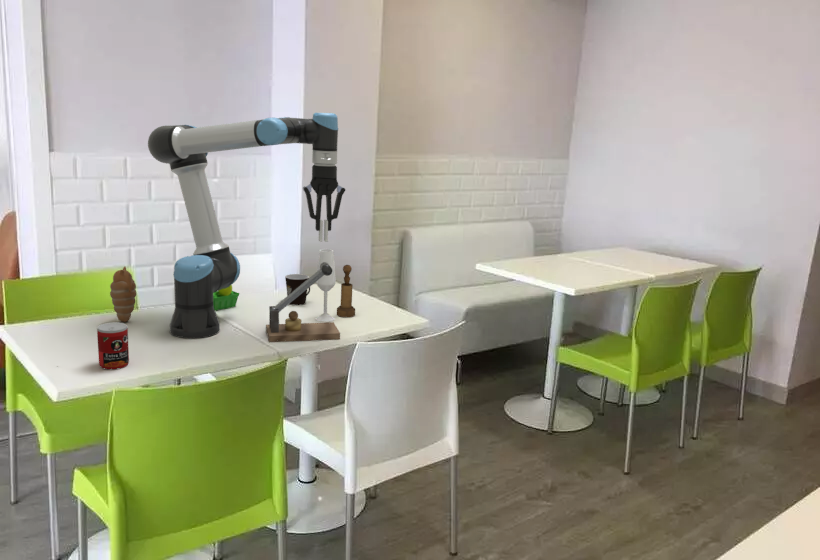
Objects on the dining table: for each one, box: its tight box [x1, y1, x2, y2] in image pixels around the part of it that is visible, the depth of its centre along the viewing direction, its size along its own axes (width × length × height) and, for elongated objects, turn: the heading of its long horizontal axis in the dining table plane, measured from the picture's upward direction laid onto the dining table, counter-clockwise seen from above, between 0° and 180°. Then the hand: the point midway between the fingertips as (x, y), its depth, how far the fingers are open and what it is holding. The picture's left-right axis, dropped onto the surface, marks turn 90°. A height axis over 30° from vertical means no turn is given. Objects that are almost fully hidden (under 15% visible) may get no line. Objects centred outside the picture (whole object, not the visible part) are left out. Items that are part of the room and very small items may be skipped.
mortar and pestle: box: [336, 264, 356, 318], centre depth 255 cm, size 7×6×18 cm
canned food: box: [96, 321, 130, 370], centre depth 198 cm, size 8×8×11 cm
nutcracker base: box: [265, 305, 341, 343], centre depth 231 cm, size 22×12×9 cm, turn 106°
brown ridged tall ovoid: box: [109, 266, 137, 323], centre depth 235 cm, size 9×8×18 cm
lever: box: [270, 262, 332, 313], centre depth 229 cm, size 24×6×3 cm
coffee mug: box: [284, 273, 311, 306], centre depth 267 cm, size 12×9×10 cm
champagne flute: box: [315, 248, 337, 323], centre depth 248 cm, size 7×7×24 cm
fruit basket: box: [213, 284, 240, 311], centre depth 257 cm, size 11×9×11 cm
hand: (323, 240), depth 227 cm, fingers closed
